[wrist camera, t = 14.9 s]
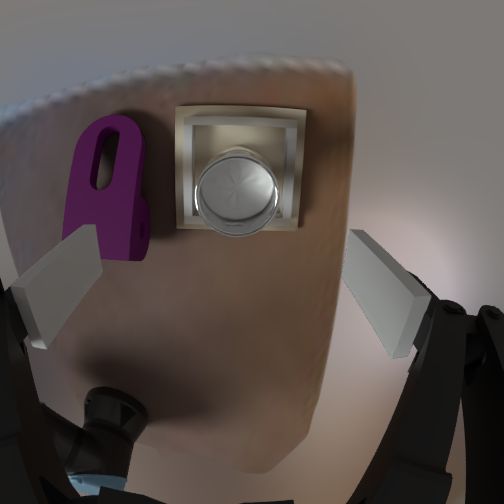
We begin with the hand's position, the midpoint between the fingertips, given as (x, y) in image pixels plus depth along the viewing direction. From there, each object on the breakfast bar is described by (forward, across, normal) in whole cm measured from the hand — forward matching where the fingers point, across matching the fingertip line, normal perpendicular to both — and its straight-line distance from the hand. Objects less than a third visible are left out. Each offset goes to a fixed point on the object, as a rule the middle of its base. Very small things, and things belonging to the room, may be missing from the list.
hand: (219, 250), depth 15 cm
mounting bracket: (+25, +15, +1) cm, 30 cm away
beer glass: (+24, -1, -1) cm, 24 cm away
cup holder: (+25, -1, -1) cm, 25 cm away
